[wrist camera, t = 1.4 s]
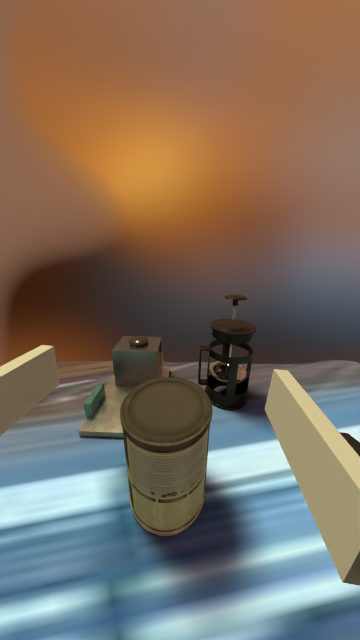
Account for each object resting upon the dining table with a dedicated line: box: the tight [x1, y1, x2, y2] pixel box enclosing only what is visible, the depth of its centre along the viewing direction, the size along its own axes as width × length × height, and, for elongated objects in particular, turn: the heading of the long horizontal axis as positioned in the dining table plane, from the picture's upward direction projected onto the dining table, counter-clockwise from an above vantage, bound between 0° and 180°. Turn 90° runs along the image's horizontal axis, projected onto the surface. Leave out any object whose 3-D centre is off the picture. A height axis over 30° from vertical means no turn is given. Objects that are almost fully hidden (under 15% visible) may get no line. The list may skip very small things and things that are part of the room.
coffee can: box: [120, 377, 212, 536], centre depth 24 cm, size 10×10×14 cm
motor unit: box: [79, 336, 170, 438], centre depth 42 cm, size 14×21×11 cm
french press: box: [198, 295, 256, 410], centre depth 41 cm, size 12×9×23 cm
